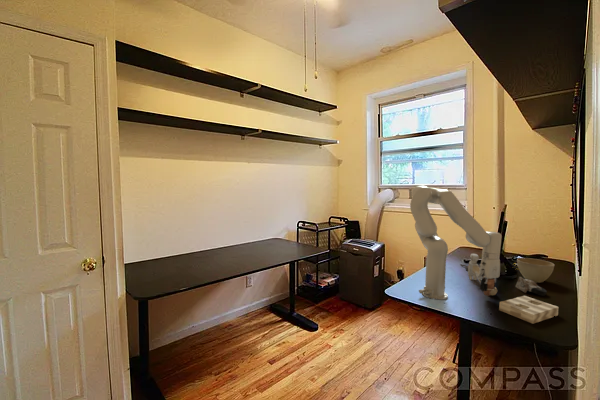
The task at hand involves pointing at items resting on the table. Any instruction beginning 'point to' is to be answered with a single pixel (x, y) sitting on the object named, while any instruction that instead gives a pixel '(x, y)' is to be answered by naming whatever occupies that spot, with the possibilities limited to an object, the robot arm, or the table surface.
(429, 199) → the robot arm
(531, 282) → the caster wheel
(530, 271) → the white bowl
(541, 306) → the board
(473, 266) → the hammer
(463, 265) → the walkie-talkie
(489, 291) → the peg
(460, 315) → the table surface
